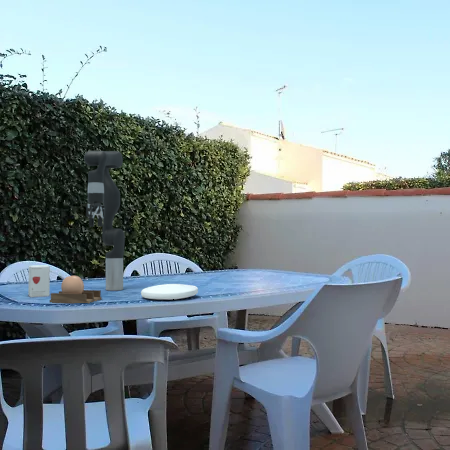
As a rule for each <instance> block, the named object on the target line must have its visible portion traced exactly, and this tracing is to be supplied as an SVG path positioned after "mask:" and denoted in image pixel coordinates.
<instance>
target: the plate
mask: <svg viewBox="0 0 450 450" xmlns="http://www.w3.org/2000/svg"><path fill="white" fill-rule="evenodd" d="M198 293H199V288H198V287H197V286H195V285H192V284H182V283H168V284H167V283H165V284H159V285H152V286H148V287H145V288H143V289H141V292H140V294H141V297H142V298H143V299H144V298H145V299H150V300H157V301H158V300H159V301H161V300H162V301H164V300H165V301H166V300H168V301H169V300H170V301H172V300H173V299H174V300H180V299H185V298H189V297H193V296H195V295H198Z"/></svg>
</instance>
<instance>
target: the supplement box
mask: <svg viewBox="0 0 450 450" xmlns="http://www.w3.org/2000/svg"><path fill="white" fill-rule="evenodd" d="M50 267H51V266H50V265H48V264H43V265H41V264H39V265H38V264H36V265H28V290H27V291H28V292H27V293H28V297H30V298H38V297H39V298H40V297H43V298H45V297H50V283H51V282H50V280H51V279H50V277H51V275H50V271H51V270H50V269H51V268H50Z"/></svg>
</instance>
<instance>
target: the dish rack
mask: <svg viewBox="0 0 450 450" xmlns="http://www.w3.org/2000/svg"><path fill="white" fill-rule="evenodd" d="M101 294H102V293H101V290H99V289H98V290H97V289H96V290H95V289H94V290H93V289H84V291H83V293H82V294H69V293H63V292H62V290H60V291H58V292H51V293H50V299H49V303H50V302H52V304H74V303H88V304H91V303H95V302H98V301H101V300H102V299H103V297H102V295H101ZM97 300H98V301H97ZM94 301H95V302H94ZM90 302H91V303H90Z"/></svg>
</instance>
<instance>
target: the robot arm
mask: <svg viewBox="0 0 450 450" xmlns="http://www.w3.org/2000/svg"><path fill="white" fill-rule="evenodd" d="M123 159H124V158H123V154H122V153H121V151H118V150H111V151H110V150H108V151H103V150H88V151H86V152H85V154H84V155H83V160H84V163H85V164H86V165H87V166H89V167H95V166H96V167H97V168H96V169H93V170H90V171H88V173H87V176H88V180H87V204H86V205H85V217H86V218H87V219H88V226H89V227H94V226H95V216H96V217H97V227H102V238H101V239H102V242H103V244H104V245H105V246H113V247H112V250H110V251H108V252H105V291H122V290H124V253H125V241H126V240H125V238H126V237H125V232H124V230H123V229H121V228H113V224H114V219H115V217H116V214H118V213H117V212H118V211H119V209H120V206H121V192H120V190H119V188H118V186H117V184H116V183H115V182H114V180H113V178H112V177H111V175H110V169H118V168H121V167H122V166H123V161H124V160H123Z"/></svg>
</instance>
